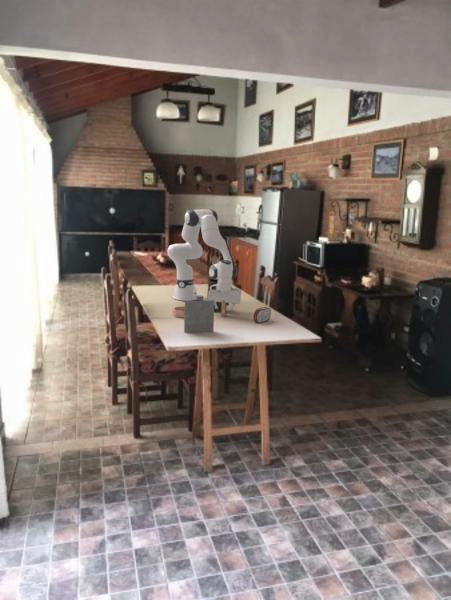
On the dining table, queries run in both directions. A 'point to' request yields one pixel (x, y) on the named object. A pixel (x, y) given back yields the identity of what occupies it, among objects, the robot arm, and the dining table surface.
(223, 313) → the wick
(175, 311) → the candle jar
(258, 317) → the tin
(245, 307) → the dining table surface
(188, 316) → the hip flask
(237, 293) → the robot arm
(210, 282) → the beer stein
